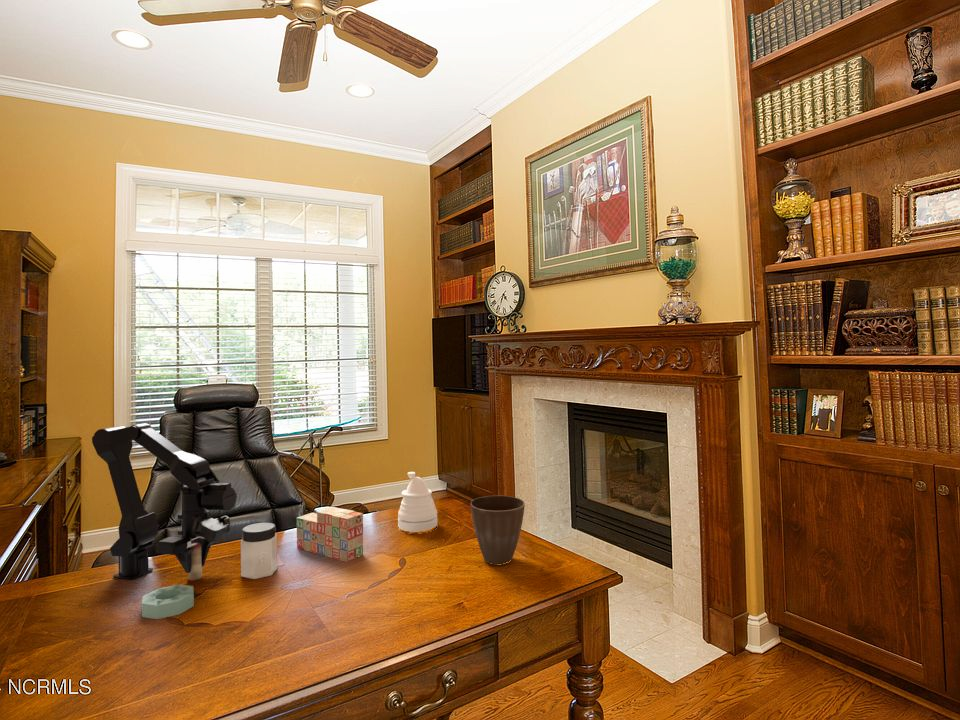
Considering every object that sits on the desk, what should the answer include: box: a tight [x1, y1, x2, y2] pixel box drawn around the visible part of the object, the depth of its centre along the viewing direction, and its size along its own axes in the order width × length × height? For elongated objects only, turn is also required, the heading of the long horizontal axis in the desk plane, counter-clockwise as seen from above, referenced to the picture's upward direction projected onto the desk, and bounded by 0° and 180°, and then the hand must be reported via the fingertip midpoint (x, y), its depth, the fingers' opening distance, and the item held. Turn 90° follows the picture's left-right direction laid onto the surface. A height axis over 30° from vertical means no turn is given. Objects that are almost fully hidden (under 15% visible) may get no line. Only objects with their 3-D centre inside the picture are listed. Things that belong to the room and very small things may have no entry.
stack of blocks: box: [295, 506, 364, 563], centre depth 155 cm, size 21×6×12 cm, turn 58°
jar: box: [240, 522, 278, 580], centre depth 141 cm, size 9×8×12 cm
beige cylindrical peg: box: [188, 543, 203, 581], centre depth 138 cm, size 3×3×8 cm
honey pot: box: [397, 471, 438, 532], centre depth 177 cm, size 13×13×18 cm
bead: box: [141, 584, 195, 620], centre depth 121 cm, size 10×10×3 cm
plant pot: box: [470, 495, 526, 564], centre depth 147 cm, size 15×15×16 cm
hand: (195, 569), depth 138 cm, fingers open, 4 cm apart
